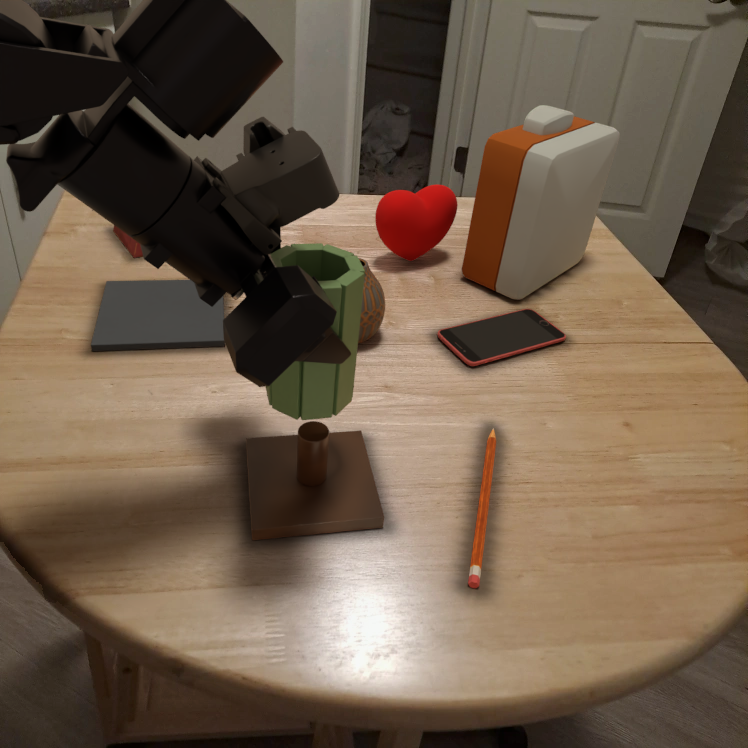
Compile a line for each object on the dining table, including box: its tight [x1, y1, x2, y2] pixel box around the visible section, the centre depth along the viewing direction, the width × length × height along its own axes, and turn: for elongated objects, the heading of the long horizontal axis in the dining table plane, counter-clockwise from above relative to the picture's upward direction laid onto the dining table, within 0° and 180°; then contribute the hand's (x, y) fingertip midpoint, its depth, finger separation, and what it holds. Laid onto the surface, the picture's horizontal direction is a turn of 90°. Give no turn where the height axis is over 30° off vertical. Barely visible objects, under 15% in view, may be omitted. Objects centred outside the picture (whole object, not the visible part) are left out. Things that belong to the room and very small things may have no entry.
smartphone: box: [436, 308, 567, 367], centre depth 74 cm, size 7×1×14 cm
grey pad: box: [90, 279, 226, 352], centre depth 72 cm, size 13×13×1 cm
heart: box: [374, 184, 458, 262], centre depth 85 cm, size 12×5×10 cm, turn 121°
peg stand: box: [245, 420, 385, 541], centre depth 52 cm, size 10×10×6 cm
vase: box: [358, 257, 386, 344], centre depth 70 cm, size 7×7×9 cm
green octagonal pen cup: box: [265, 242, 365, 421], centre depth 47 cm, size 6×6×11 cm
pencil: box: [467, 427, 497, 589], centre depth 54 cm, size 1×18×1 cm, turn 167°
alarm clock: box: [461, 104, 621, 300], centre depth 83 cm, size 18×9×21 cm, turn 139°
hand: (330, 331), depth 48 cm, fingers closed on green octagonal pen cup, 6 cm apart
